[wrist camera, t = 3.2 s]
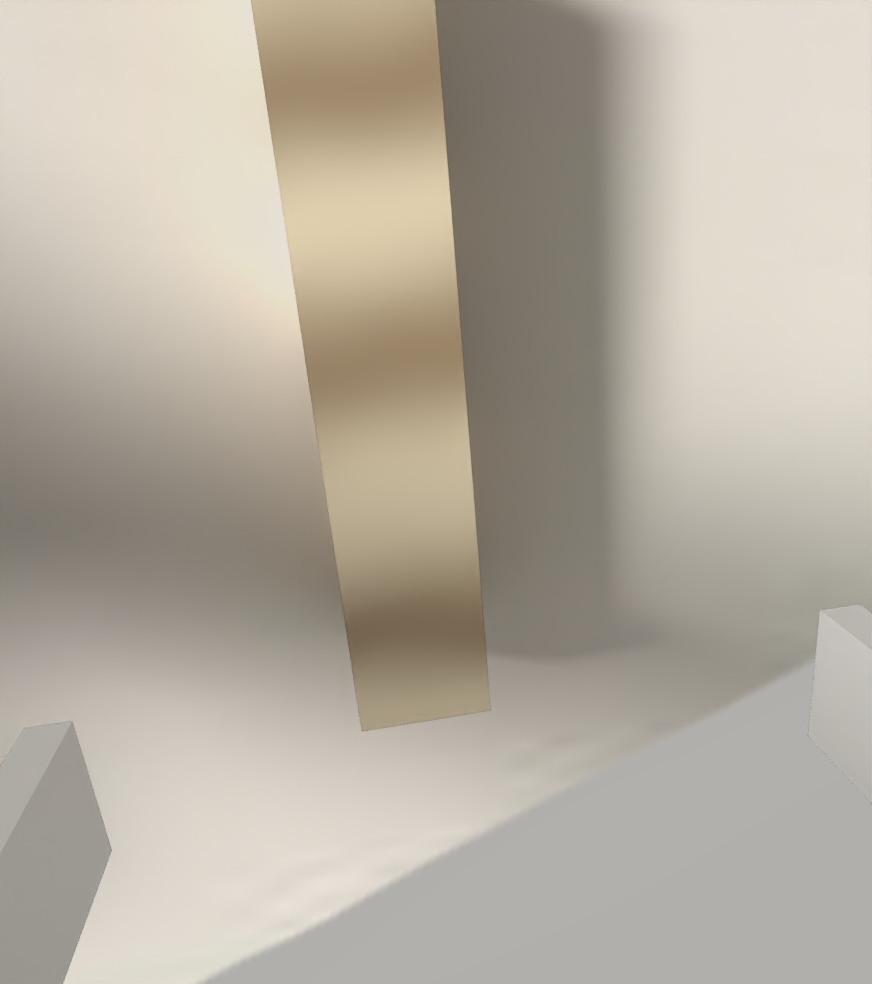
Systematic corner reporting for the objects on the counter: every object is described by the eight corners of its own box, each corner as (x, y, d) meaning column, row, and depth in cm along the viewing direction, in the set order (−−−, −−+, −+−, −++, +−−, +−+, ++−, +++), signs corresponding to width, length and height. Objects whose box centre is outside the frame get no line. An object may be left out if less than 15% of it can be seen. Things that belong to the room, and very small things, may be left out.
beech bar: (458, 616, 28) (490, 710, 23) (354, 631, 28) (361, 731, 22) (396, -66, 21) (421, -175, 15) (253, -58, 21) (225, -166, 15)
